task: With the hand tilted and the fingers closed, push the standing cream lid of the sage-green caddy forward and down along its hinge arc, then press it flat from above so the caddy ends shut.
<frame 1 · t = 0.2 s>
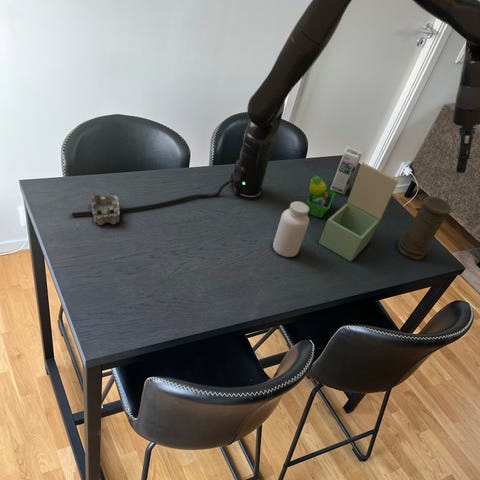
hand: (460, 165, 125), 31 cm above the table, tool tilted 20°, fingers open, 8 cm apart
syrup box: (338, 189, 167), on the table
fruit basket: (314, 209, 156), on the table
egg carton: (105, 214, 133), on the table
pill bottle: (285, 249, 138), on the table
container: (410, 251, 150), on the table
caddy: (344, 242, 145), on the table
lid: (371, 191, 137), point 16 cm above the table, hinge at 80.0°
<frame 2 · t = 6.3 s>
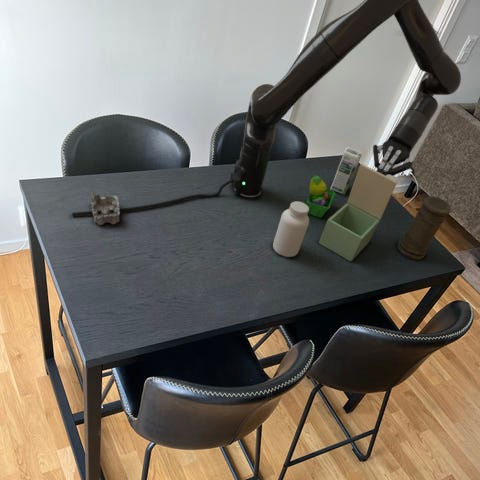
hand: (375, 182, 135), 19 cm above the table, tool tilted 45°, fingers closed
lid: (370, 192, 137), point 16 cm above the table, hinge at 77.0°, touching gripper
everything else where it was.
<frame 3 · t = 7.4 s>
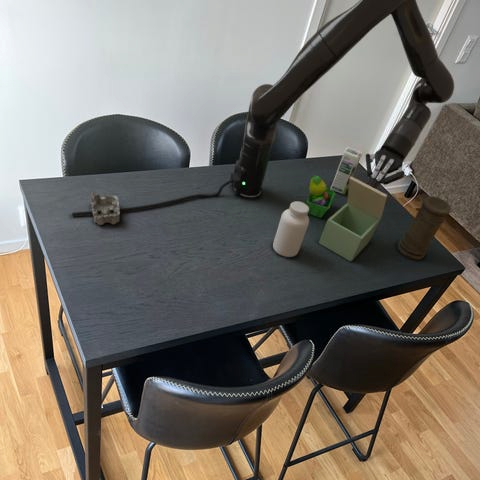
hand: (367, 192, 133), 18 cm above the table, tool tilted 45°, fingers closed
lid: (366, 198, 136), point 15 cm above the table, hinge at 54.5°, touching gripper
everything else where it was.
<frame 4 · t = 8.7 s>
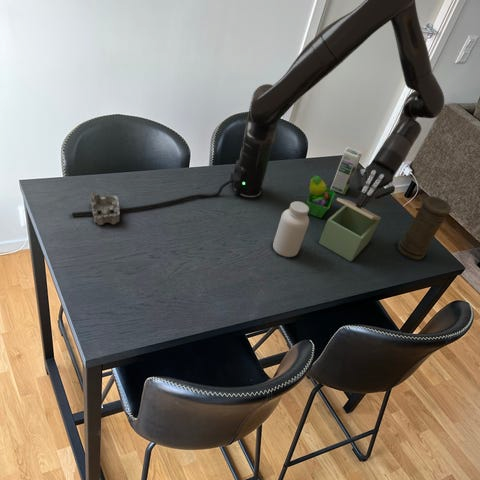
hand: (358, 206, 133), 15 cm above the table, tool tilted 45°, fingers closed
lid: (359, 209, 137), point 12 cm above the table, hinge at 26.7°, touching gripper
everything else where it was.
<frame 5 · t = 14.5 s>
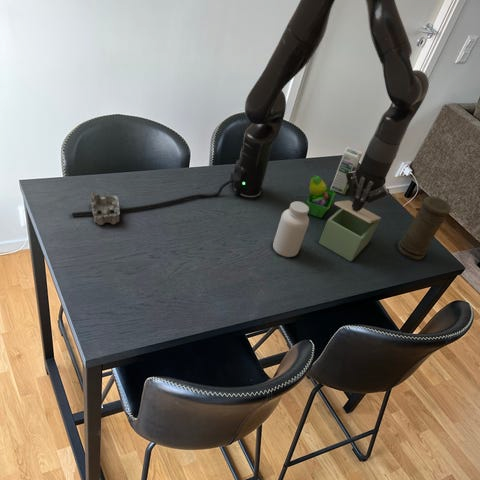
hand: (355, 209, 133), 14 cm above the table, tool pointing down, fingers closed
lid: (358, 211, 137), point 12 cm above the table, hinge at 21.7°
everything else where it was.
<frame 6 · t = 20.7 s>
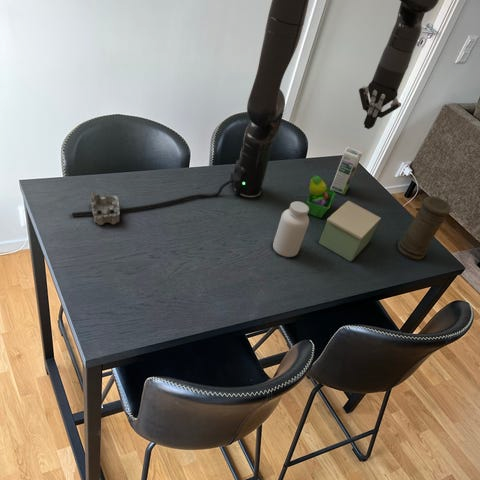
hand: (367, 127, 136), 29 cm above the table, tool pointing down, fingers closed
lid: (354, 219, 138), point 9 cm above the table, hinge at 0.0°
everything else where it was.
at the end: lid at +0° (first picture: +80°) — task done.
